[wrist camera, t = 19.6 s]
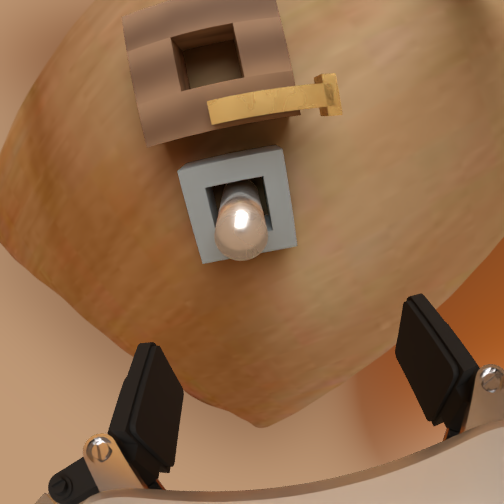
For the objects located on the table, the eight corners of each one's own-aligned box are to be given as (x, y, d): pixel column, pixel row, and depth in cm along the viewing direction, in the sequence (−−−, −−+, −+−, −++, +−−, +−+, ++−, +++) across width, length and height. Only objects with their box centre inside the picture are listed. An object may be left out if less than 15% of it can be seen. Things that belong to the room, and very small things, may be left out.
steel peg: (219, 181, 32) (208, 217, 21) (254, 174, 32) (263, 206, 21) (226, 215, 34) (221, 265, 23) (261, 208, 33) (272, 255, 23)
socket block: (140, 31, 23) (121, 16, 18) (265, 3, 23) (270, -19, 17) (163, 142, 30) (147, 147, 24) (289, 115, 29) (300, 114, 24)
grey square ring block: (186, 163, 31) (177, 171, 26) (276, 144, 30) (282, 149, 26) (207, 244, 35) (202, 263, 31) (289, 228, 35) (297, 246, 30)
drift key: (208, 94, 22) (204, 91, 20) (326, 76, 22) (335, 73, 20) (216, 133, 24) (213, 134, 22) (333, 114, 23) (342, 114, 21)
